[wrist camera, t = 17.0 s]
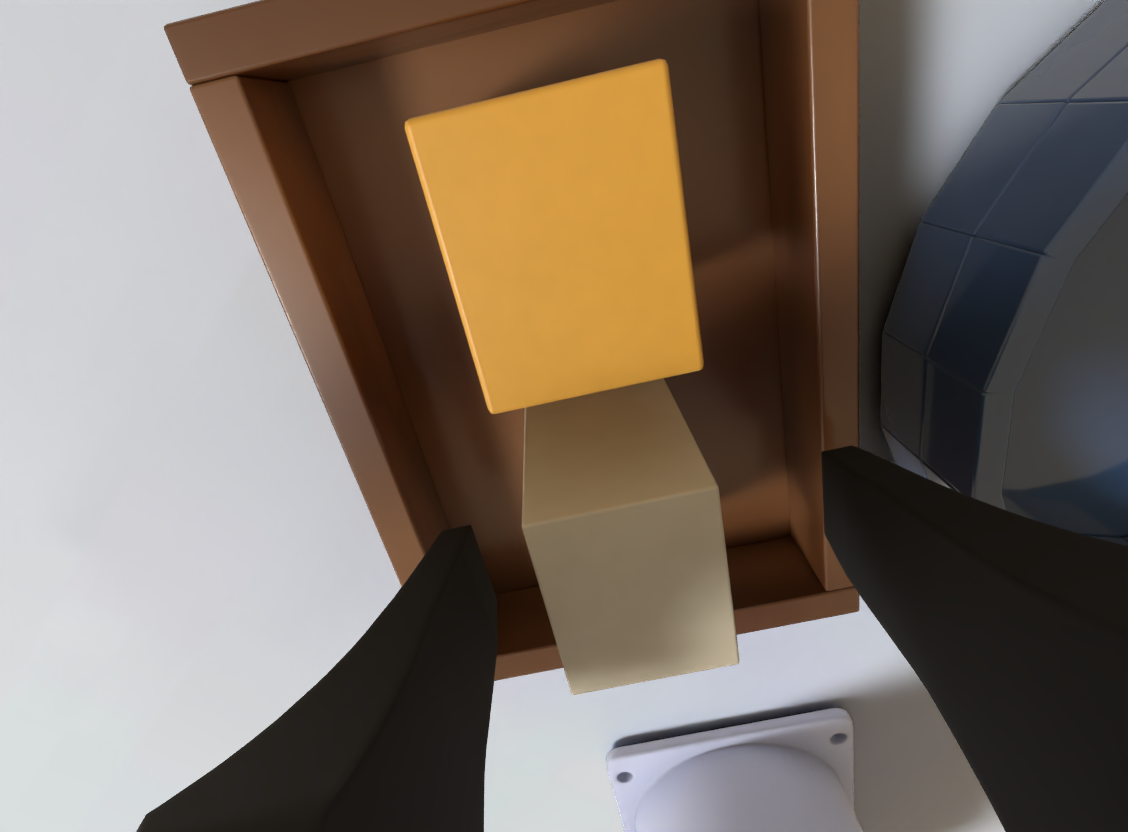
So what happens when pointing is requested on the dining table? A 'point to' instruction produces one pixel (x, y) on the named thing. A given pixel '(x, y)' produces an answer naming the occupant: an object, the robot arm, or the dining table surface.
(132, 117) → the dining table surface
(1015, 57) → the dining table surface
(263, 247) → the holder
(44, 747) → the dining table surface
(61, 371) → the dining table surface
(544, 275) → the block
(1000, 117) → the bowl
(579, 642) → the packet cream
